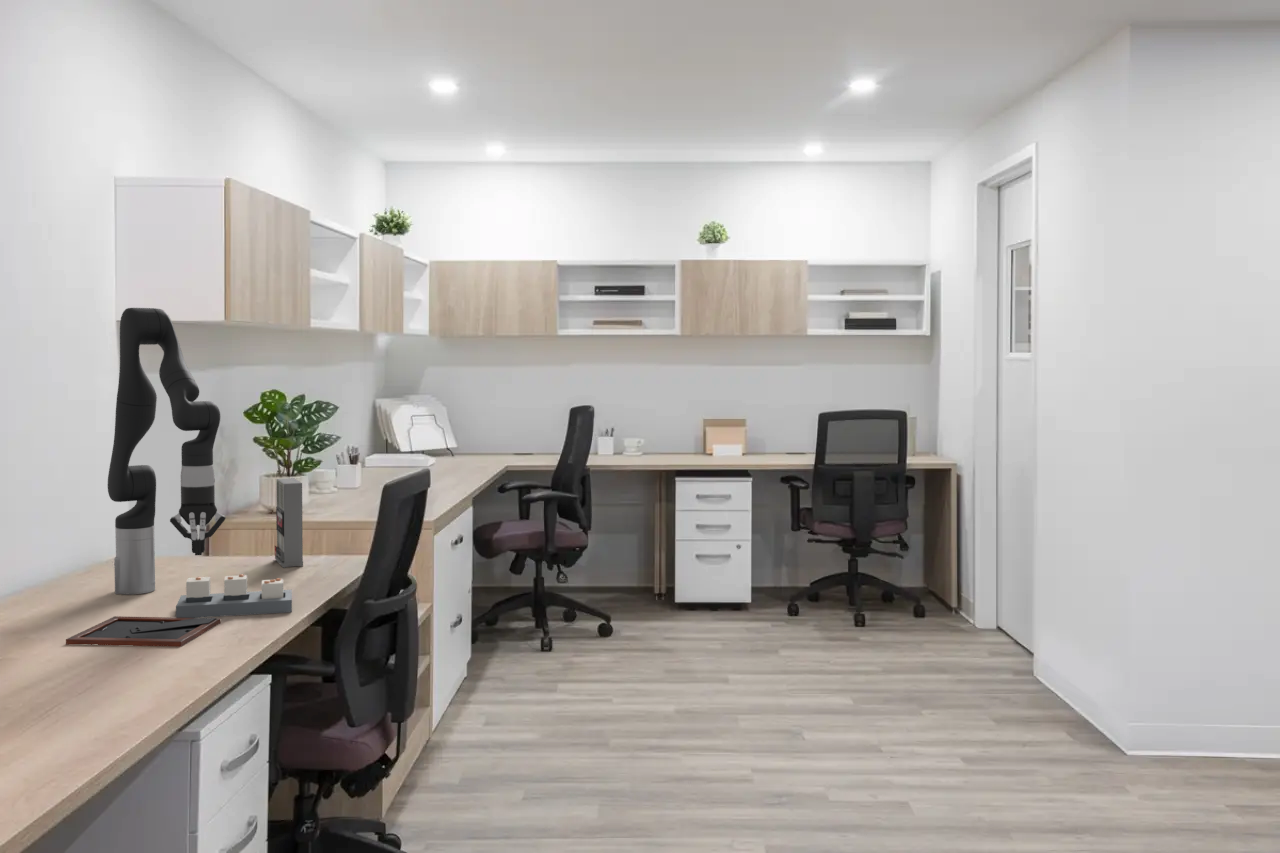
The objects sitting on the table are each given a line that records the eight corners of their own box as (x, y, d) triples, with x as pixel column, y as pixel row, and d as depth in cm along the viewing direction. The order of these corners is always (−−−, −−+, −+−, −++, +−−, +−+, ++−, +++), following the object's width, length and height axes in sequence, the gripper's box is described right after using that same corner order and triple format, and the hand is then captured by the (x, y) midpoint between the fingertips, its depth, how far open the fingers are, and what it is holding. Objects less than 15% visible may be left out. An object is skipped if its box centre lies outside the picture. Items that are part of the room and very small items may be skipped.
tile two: (224, 597, 253) (224, 578, 253) (225, 593, 258) (225, 574, 257) (246, 596, 255) (246, 577, 254) (247, 592, 259) (247, 573, 259)
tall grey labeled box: (274, 559, 320) (273, 478, 318) (294, 558, 323) (294, 478, 321) (281, 568, 308) (281, 483, 306) (303, 566, 310) (302, 483, 309)
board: (176, 618, 247) (175, 606, 246) (181, 607, 258) (181, 595, 258) (291, 612, 255) (291, 599, 255) (291, 601, 266) (291, 589, 266)
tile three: (261, 601, 256) (261, 582, 255) (262, 597, 260) (262, 578, 260) (283, 600, 257) (283, 581, 257) (283, 595, 262) (283, 577, 262)
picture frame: (220, 625, 243) (114, 623, 244) (220, 617, 243) (114, 615, 244) (181, 649, 223) (65, 647, 224) (181, 640, 223) (65, 638, 224)
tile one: (186, 599, 250) (186, 580, 250) (188, 595, 255) (188, 576, 255) (208, 598, 252) (208, 579, 252) (210, 594, 257) (210, 575, 256)
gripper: (166, 486, 246) (167, 558, 247) (226, 484, 250) (227, 556, 251) (169, 482, 253) (170, 553, 254) (227, 481, 257) (228, 550, 259)
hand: (198, 554), depth 253 cm, fingers closed
